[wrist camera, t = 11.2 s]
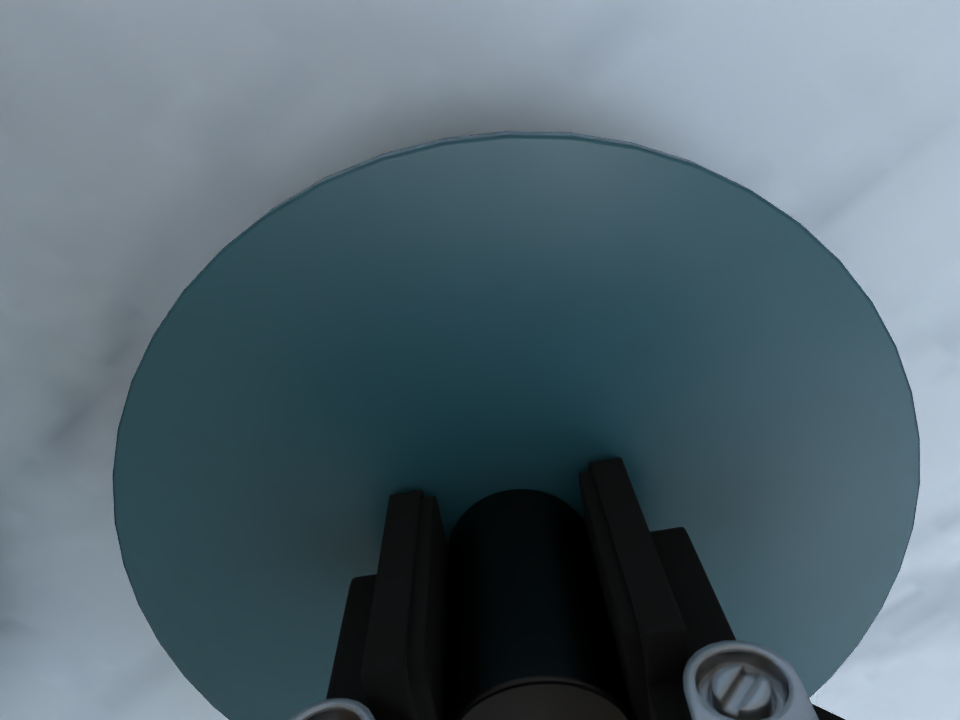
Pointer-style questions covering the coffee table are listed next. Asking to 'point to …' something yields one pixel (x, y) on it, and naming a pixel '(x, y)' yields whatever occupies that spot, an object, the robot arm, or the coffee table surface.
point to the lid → (511, 421)
